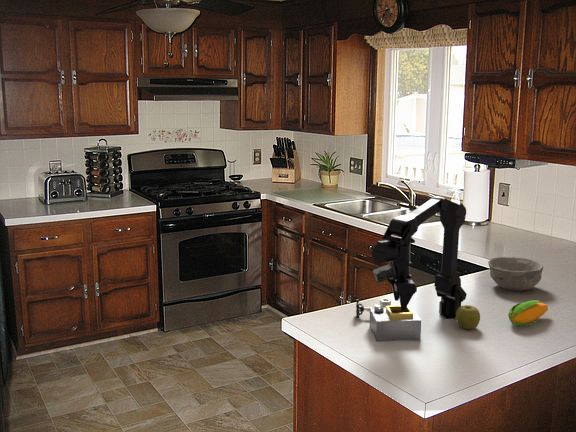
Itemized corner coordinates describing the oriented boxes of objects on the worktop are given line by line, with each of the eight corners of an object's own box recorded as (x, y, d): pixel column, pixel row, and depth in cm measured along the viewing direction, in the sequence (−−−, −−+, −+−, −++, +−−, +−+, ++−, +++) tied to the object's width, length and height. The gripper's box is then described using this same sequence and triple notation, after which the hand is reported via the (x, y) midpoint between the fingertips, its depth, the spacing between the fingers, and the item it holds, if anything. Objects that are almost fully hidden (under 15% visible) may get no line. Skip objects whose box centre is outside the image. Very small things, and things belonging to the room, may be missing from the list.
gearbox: (411, 326, 208) (411, 302, 206) (420, 340, 196) (421, 315, 194) (369, 327, 207) (369, 303, 205) (376, 341, 195) (376, 316, 194)
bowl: (475, 284, 251) (476, 260, 249) (514, 277, 260) (515, 254, 258) (513, 299, 233) (515, 273, 231) (554, 291, 241) (555, 266, 239)
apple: (469, 322, 211) (470, 302, 209) (484, 330, 203) (486, 309, 202) (450, 325, 208) (451, 305, 206) (465, 333, 201) (466, 312, 199)
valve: (390, 315, 218) (355, 314, 219) (390, 297, 217) (356, 296, 218) (392, 321, 212) (356, 321, 213) (392, 303, 211) (356, 302, 212)
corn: (503, 303, 206) (537, 291, 217) (500, 325, 208) (534, 311, 219) (523, 311, 200) (557, 298, 212) (520, 333, 202) (554, 319, 214)
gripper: (370, 251, 205) (369, 296, 208) (381, 266, 187) (380, 316, 190) (403, 250, 206) (402, 295, 209) (418, 265, 188) (416, 315, 191)
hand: (399, 305), depth 200 cm, fingers open, 9 cm apart
